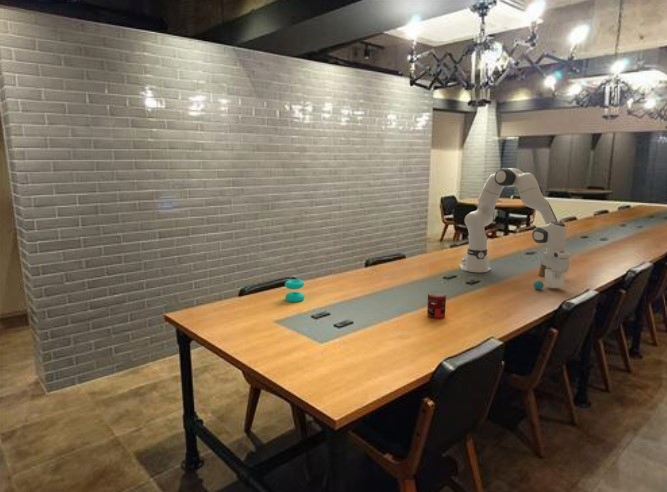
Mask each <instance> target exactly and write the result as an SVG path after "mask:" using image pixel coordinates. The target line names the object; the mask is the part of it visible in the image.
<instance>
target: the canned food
mask: <svg viewBox="0 0 667 492" xmlns="http://www.w3.org/2000/svg"><path fill="white" fill-rule="evenodd" d="M446 301H447V293H446V292H444V291H438V290H432V291H428V293H427V310H426V312H427V317H428V318H430V319H434V320H440V319H441V320H442V319H444V318H445V316H446V307H447V306H446V304H447V303H446Z"/></svg>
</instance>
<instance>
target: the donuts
mask: <svg viewBox="0 0 667 492" xmlns="http://www.w3.org/2000/svg"><path fill="white" fill-rule="evenodd" d="M304 286H305V281H304V280H302V279H298V278H297V279H288V280H287V281H285V283H284V287H286V288H287V289H289V290H300V289H302V288H303V287H304ZM284 298H285V301H287V302H291V303H298V302H302V301H304V299H305V298H306V297H305V295H304V292H303V293H302V292H300V291H291V292H290V291H289V292H288V293H286V294H285V297H284Z"/></svg>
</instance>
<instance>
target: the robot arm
mask: <svg viewBox="0 0 667 492" xmlns="http://www.w3.org/2000/svg"><path fill="white" fill-rule="evenodd" d="M505 187H506V188H517V190H518V194H519V197H520V198H519V199H520V200H521V203H522V204H523V205H524V206H525V207H528V208H529V209H533V210H536V211H537V212H539V213H540V214H541V216H542V218H543V221H544V222H545V224H544V225H540V226H537V227H535V228H534V229H533V230H532V233H531V234H532V235H531V237H532V240H533V241H534V243H536V244H546V249H545V250H544V251H543V254H542V257H541V258H542V259H541V260H542V264H543V265H545V266H546V269H551V268H552V269H554V270H557V275H556V278H557V279H560V276H561V274H562V273H564V274H565V273H568V271H569V268H570V258H571V254H570V253H569V252H568V251H567V250H566V240H567V226H566V224H565V223H564V222H560V221H558V218H556V215H555V212H554V211H553V208H552V206H551V204H550V202H549V201H548V200H547V199H546V198H545V197H544V195H543V193H542V191H541V188H540V185H539V182H538V181H537V178H536V177H535V176H534V174H533V173H532V172H526V171H525V170H523V169H521V168H516V167H515V168H514V167H501V168H499V169H497V171H496V172H495V173H492V174H490V176H489V177H488V178H487V180H486V181H485V183H484V185H483V187H482V190H481V192H480V194H479V197H478V199H477V200H478V205H477V209H476V210H474V211H471V212H469V213H468V214H466V215H465V217H464V220H463V221H464V224H465V226H466V227H467V231H468V248H467V252H466V253H467V254H465V255H464V256H463V258H462V259H461V263H459V264H458V266H459V268H460V269H461V271H463V272H471V273H487V272H489V271H491V269H492V268H491V267H490V257H488V235H486V231H485V227H488V226H489V225H490V224H491V223H492V222H493V220H494V212H495V208H496V205H497V203H498V200H499V199H500V196H501V194H502V191H503V190H504V188H505Z"/></svg>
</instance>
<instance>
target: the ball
mask: <svg viewBox="0 0 667 492" xmlns="http://www.w3.org/2000/svg"><path fill="white" fill-rule="evenodd" d="M544 286H545V283H544V282H543V281H542V280H536V281H534V283H533V287H534V289H536V290H543V288H544Z"/></svg>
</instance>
